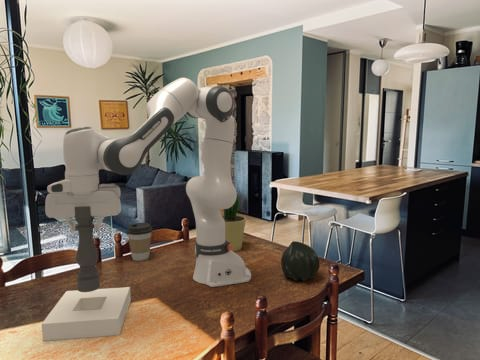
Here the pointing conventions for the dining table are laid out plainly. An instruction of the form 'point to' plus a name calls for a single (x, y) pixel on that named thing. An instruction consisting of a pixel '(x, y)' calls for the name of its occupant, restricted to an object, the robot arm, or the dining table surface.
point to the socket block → (87, 314)
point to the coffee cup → (139, 240)
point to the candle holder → (86, 251)
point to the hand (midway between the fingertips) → (85, 231)
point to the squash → (299, 261)
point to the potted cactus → (234, 226)
